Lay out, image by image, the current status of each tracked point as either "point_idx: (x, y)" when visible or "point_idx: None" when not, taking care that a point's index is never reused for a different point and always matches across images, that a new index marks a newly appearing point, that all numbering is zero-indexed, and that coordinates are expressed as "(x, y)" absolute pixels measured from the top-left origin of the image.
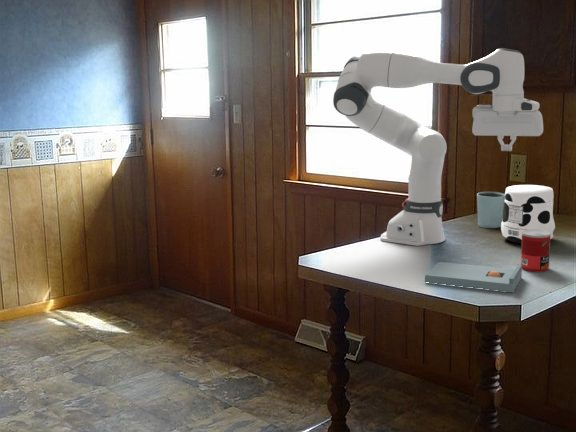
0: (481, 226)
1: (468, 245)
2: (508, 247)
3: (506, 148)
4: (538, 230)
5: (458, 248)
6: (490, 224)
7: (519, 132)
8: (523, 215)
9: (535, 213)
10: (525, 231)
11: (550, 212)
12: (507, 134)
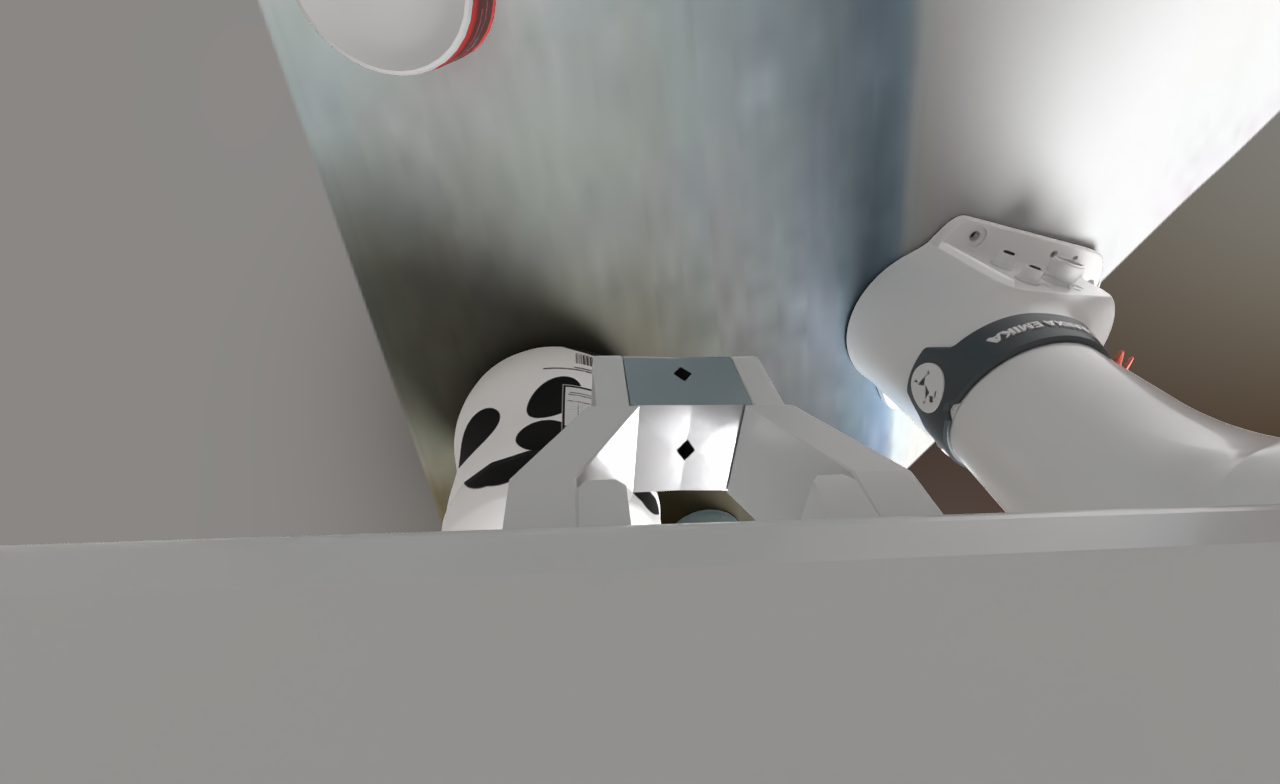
0: (728, 513)
1: (758, 288)
2: (607, 305)
3: (674, 368)
4: (387, 61)
5: (794, 234)
6: (701, 518)
7: (283, 616)
8: (559, 411)
9: (507, 426)
10: (454, 9)
11: (456, 474)
12: (720, 539)
